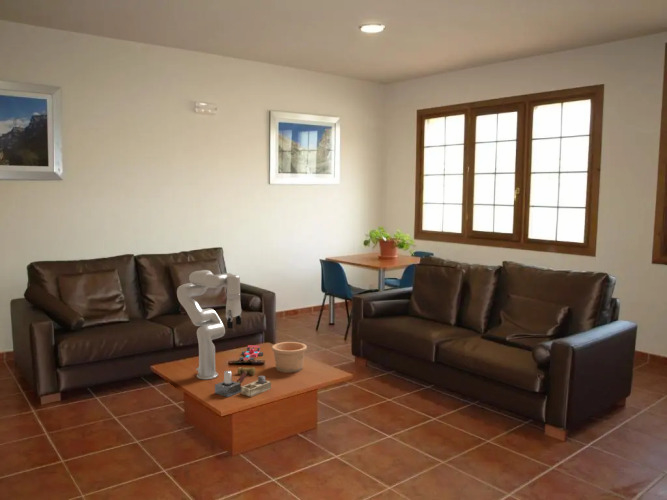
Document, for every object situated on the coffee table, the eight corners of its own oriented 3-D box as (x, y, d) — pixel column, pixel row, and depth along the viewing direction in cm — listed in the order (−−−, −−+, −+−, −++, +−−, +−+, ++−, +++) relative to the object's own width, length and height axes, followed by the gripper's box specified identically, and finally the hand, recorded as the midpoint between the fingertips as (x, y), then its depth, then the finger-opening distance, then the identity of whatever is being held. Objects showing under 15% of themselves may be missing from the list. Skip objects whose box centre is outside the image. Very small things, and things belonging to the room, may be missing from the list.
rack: (240, 393, 318) (240, 381, 317) (260, 385, 330) (260, 374, 330) (251, 396, 313) (251, 384, 312) (271, 388, 326) (271, 376, 325)
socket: (215, 393, 318) (214, 384, 318) (228, 388, 326) (228, 379, 326) (227, 397, 312) (227, 388, 312) (240, 392, 320) (240, 383, 320)
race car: (232, 355, 370) (244, 344, 395) (232, 364, 371) (244, 353, 396) (254, 356, 368) (264, 345, 393) (254, 365, 369) (264, 354, 394)
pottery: (265, 368, 363) (264, 345, 361) (292, 361, 377) (292, 339, 376) (285, 376, 347) (285, 353, 345) (313, 369, 361) (313, 346, 360)
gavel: (246, 380, 331) (229, 379, 332) (246, 387, 332) (229, 386, 333) (255, 366, 352) (239, 365, 353) (255, 373, 353) (239, 372, 354)
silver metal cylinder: (222, 392, 319) (222, 372, 317) (228, 390, 322) (227, 370, 321) (227, 394, 316) (227, 373, 315) (233, 392, 320) (232, 371, 318)
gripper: (235, 293, 334) (235, 322, 336) (219, 299, 318) (220, 329, 319) (246, 294, 331) (247, 323, 333) (232, 299, 315) (232, 330, 317)
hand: (234, 326), depth 326 cm, fingers open, 9 cm apart
